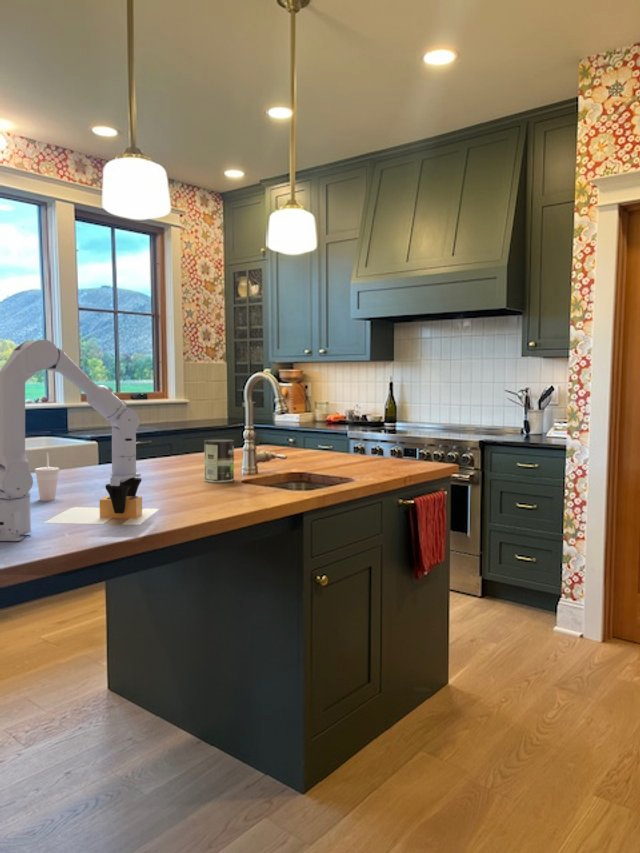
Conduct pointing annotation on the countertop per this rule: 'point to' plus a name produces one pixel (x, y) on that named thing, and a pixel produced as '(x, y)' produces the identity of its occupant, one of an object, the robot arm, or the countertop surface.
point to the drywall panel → (97, 517)
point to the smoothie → (47, 481)
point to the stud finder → (131, 510)
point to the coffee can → (219, 460)
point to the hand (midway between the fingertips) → (124, 509)
